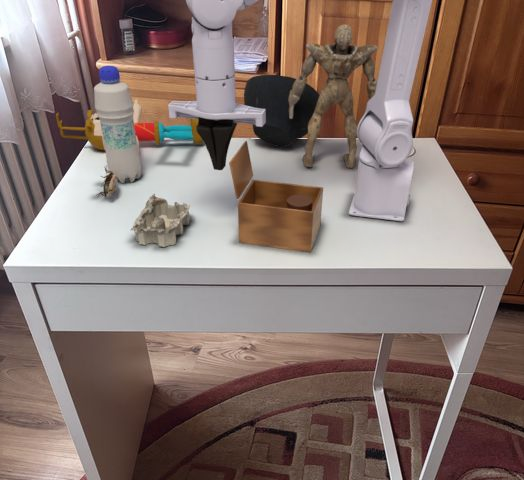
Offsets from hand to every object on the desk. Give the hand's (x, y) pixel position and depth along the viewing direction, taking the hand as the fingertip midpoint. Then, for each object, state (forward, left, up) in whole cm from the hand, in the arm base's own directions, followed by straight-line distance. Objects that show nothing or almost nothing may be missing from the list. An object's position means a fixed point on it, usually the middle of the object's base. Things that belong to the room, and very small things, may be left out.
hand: (219, 167), depth 87 cm
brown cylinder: (-13, +1, -10) cm, 16 cm away
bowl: (-1, -32, -7) cm, 33 cm away
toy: (+14, -33, -7) cm, 37 cm away
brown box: (-10, +1, -10) cm, 14 cm away
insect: (+25, -5, -7) cm, 26 cm away
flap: (-4, +1, +1) cm, 4 cm away
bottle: (+24, -12, -10) cm, 29 cm away
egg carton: (+9, +5, -10) cm, 14 cm away
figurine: (-13, -30, -10) cm, 34 cm away
